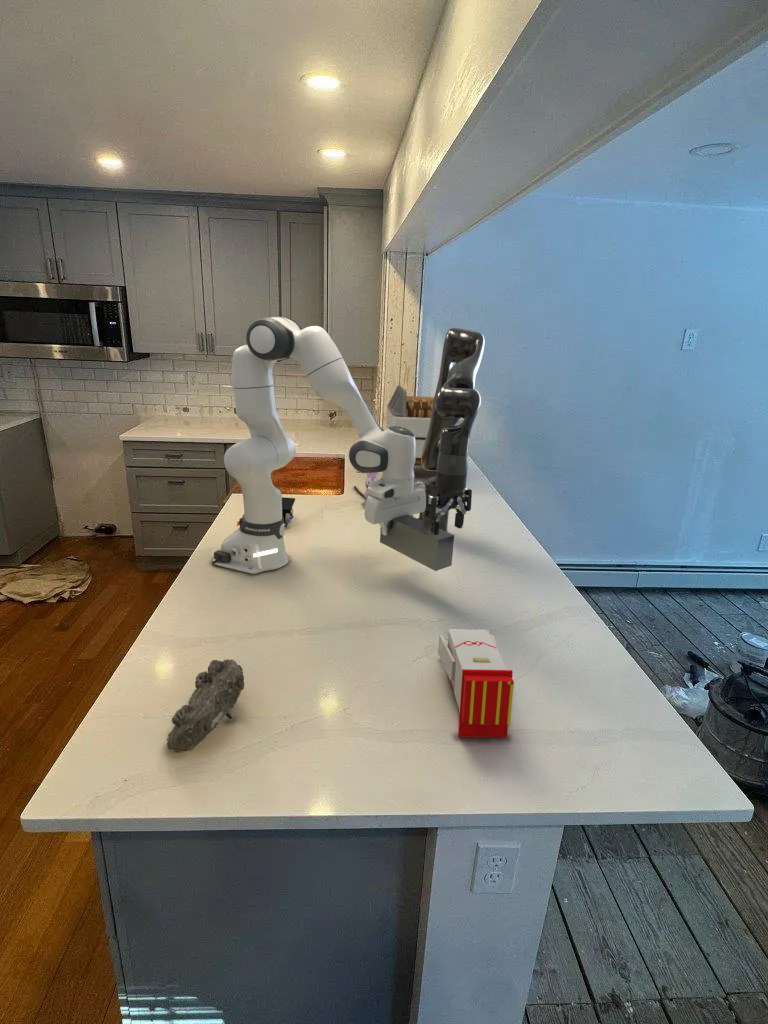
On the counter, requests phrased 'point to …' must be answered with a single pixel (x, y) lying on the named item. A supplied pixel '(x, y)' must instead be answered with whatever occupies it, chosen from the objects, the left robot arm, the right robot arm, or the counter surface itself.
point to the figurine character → (287, 509)
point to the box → (419, 542)
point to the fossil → (206, 705)
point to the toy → (478, 682)
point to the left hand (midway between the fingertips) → (395, 531)
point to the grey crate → (411, 416)
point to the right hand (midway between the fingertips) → (446, 530)
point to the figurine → (370, 482)
